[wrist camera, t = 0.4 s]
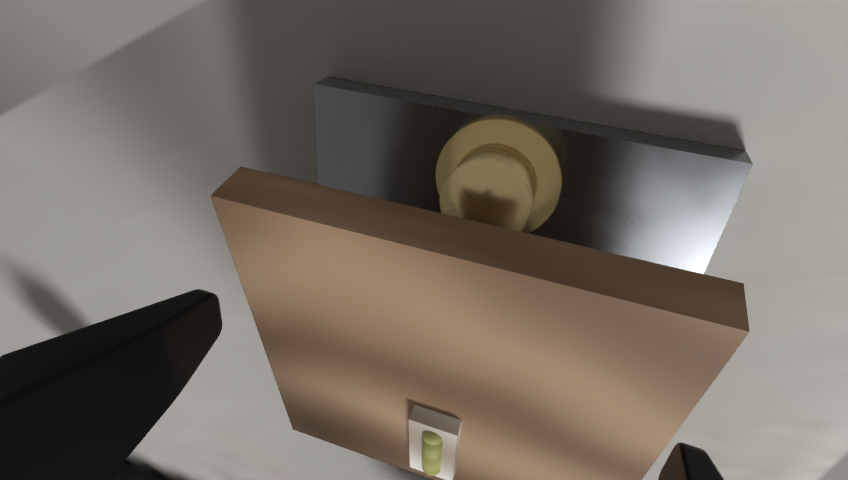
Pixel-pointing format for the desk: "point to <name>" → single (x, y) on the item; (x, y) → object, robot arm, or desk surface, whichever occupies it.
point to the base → (594, 171)
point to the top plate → (470, 335)
